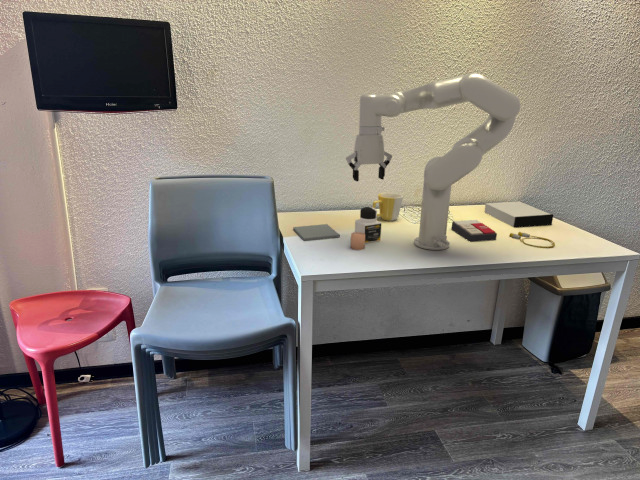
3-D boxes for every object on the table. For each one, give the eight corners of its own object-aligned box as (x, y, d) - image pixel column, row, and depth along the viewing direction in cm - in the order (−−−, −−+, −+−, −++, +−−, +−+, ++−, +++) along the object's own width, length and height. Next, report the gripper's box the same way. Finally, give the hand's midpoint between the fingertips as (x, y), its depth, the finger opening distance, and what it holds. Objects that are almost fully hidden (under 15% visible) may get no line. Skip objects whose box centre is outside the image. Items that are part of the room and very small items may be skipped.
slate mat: (339, 237, 185) (339, 234, 184) (304, 241, 180) (304, 238, 180) (326, 226, 197) (326, 224, 197) (293, 229, 192) (293, 227, 192)
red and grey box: (471, 233, 181) (452, 219, 195) (469, 244, 183) (450, 229, 196) (497, 231, 184) (477, 218, 197) (496, 242, 185) (475, 228, 199)
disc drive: (514, 229, 199) (516, 217, 198) (483, 213, 220) (485, 202, 218) (551, 226, 204) (553, 214, 202) (518, 211, 224) (519, 200, 223)
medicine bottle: (364, 243, 178) (365, 211, 174) (354, 237, 184) (355, 206, 180) (380, 241, 182) (382, 209, 178) (370, 235, 188) (371, 204, 184)
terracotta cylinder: (367, 249, 173) (367, 235, 172) (353, 250, 172) (354, 237, 170) (361, 244, 178) (361, 231, 176) (348, 246, 176) (348, 232, 174)
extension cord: (534, 234, 193) (534, 229, 192) (561, 248, 179) (562, 243, 178) (506, 236, 190) (507, 231, 189) (532, 250, 176) (533, 245, 175)
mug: (394, 214, 214) (395, 191, 211) (405, 221, 205) (407, 197, 202) (365, 217, 210) (366, 193, 206) (375, 224, 201) (377, 199, 197)
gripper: (388, 128, 177) (386, 176, 182) (342, 130, 172) (342, 179, 177) (397, 131, 170) (395, 180, 176) (350, 133, 165) (349, 183, 171)
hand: (368, 179), depth 176 cm, fingers open, 9 cm apart
